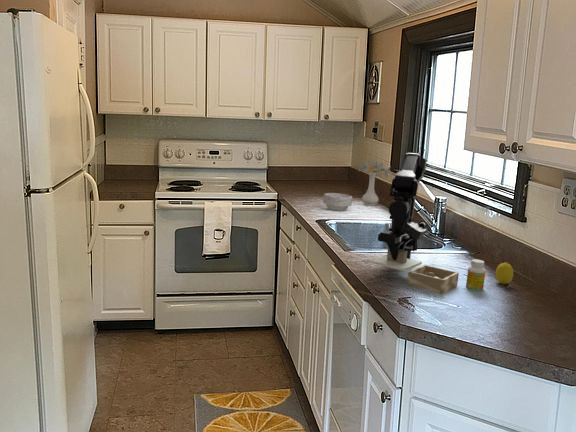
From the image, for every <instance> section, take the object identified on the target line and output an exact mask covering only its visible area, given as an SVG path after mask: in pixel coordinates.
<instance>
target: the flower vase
mask: <svg viewBox="0 0 576 432" xmlns="http://www.w3.org/2000/svg"><path fill="white" fill-rule="evenodd" d="M383 166H384V162H380V163H379V162H378V161H374V162H372V163H371V161H370V160H368V161H366V160H363V161H362V165H360V166H358V171H357V172H360V171H362V170H363V171H364V173H365V174H369V175H368V176H369V177H368V178H369V183H368V188H367V190H366V192H365V194H363V195H362V198H361V201H362V203H364V204H363V205H365V206H367V207H375V206H376V204H378V202H379V197H378V195H377V194H376V190H375V182H376V181H375V179H376V176H377V173H378V174H380V175H381V174H382V175H384V176H385V177H386V179H388V178H389V174H391V172H392V171H391V170H390V169H391V167H392V165H390V166H388V168H385V167H383Z"/></svg>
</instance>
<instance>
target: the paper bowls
mask: <svg viewBox="0 0 576 432" xmlns="http://www.w3.org/2000/svg"><path fill="white" fill-rule="evenodd" d="M323 204H324V205H325V206H326V208H327V209H328V210H330V211H334V212H345V211H347V209H348V208H349V207H351V206H352V204H353V196H352V195H349V194H346V193H345V194H344V193H338V192H326V193H324V194H323Z"/></svg>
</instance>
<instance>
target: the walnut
mask: <svg viewBox="0 0 576 432" xmlns="http://www.w3.org/2000/svg"><path fill="white" fill-rule="evenodd" d="M426 275H428V276H432V277H436V276H435V274H434V273H433V272H428V273H426Z"/></svg>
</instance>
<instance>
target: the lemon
mask: <svg viewBox="0 0 576 432" xmlns="http://www.w3.org/2000/svg"><path fill="white" fill-rule="evenodd" d="M513 277H514V268H513V266H512V265H511V264H510V263H508V262H507V261H505V262H502V263H500V264H499V265H498V266H497V267H496V269H495V279H496V280H497V282H498V283H500V284H501V285H506V284H509V283H510V282H512V280H513Z"/></svg>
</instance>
